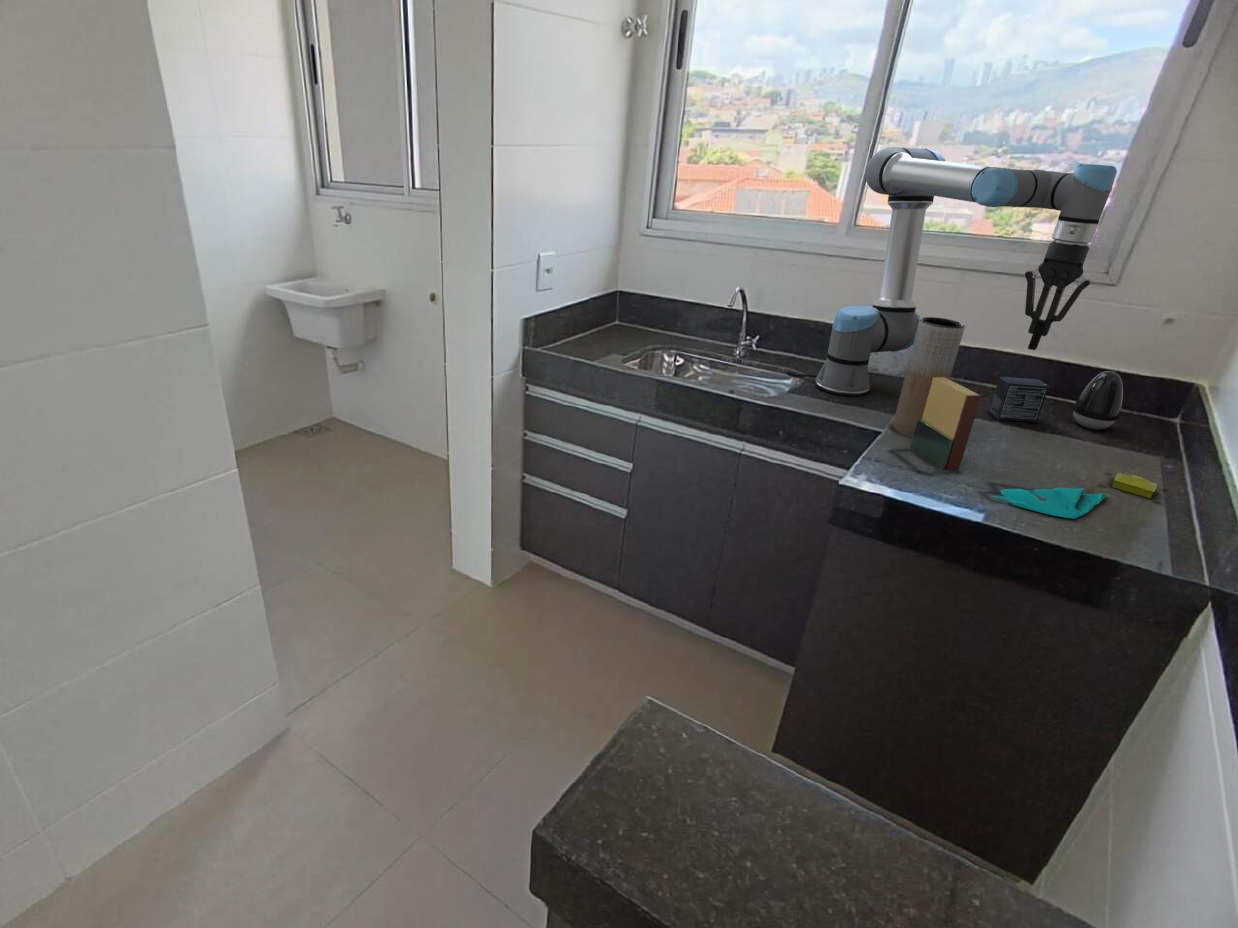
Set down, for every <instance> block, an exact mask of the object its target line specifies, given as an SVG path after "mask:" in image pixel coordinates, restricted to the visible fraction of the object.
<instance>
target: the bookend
mask: <svg viewBox="0 0 1238 928" xmlns="http://www.w3.org/2000/svg"><path fill="white" fill-rule="evenodd" d="M952 443H953V439H951V438H950V437H948V436H947V435H945V434H943V433H942V432H940V431H939V430H937V429H936V428H934V427H932V426H931V425H929V424H928V423H926V422H924V421H923V420H921V419H918V421H917V425H916V429H915V432H914V435H913V437H912V440H911V444H910V448H911V449H912V450H913V451H915V452H916V453H918V454H919V455H921V456H922V458H925V459H926V460H928V461H929V462H930V463H932V464H933V465H934V466H936V467H937V468H939V469H940V470H942V471H945V466H946V463H947V460H948V456H949V453H950V450H951V446H952Z"/></svg>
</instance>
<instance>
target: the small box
mask: <svg viewBox="0 0 1238 928" xmlns="http://www.w3.org/2000/svg"><path fill="white" fill-rule="evenodd" d="M997 380H998V381H997V383H996V387H995V390H994V394H993V397H992V400H991V403H990V407H989V410H988V413H989V414H990V415H992V416H993V417H994V418H995V419H996V420H998V421H1008V422H1009V421H1011V422H1023V423H1024V422H1025V423H1036V424H1037V423H1038V422H1039V418H1040V415H1041V412H1042V409H1043V405H1044V403H1045V399H1046V396H1047V393H1048V390H1049V388H1050V385H1048V384H1047V383H1045V382H1043V380H1040V379H1037V378H1024V377H1023V378H1022V377H1011V376H1010V377H1009V376H999V377H998V379H997Z"/></svg>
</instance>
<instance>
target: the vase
mask: <svg viewBox="0 0 1238 928" xmlns="http://www.w3.org/2000/svg"><path fill="white" fill-rule="evenodd" d="M919 319H920V320H919V324H918V327H917V331H916V335H915V339H914V343H913V345H912V346H911V347H912V348H911V351H910V356H909V360H908V363H907V368H906V371H905V374H904V379H903V383H902V386H901V391H900V394H899V399H898V401H897V407H896V409H895V415H894V419H893V422H892V426H893V428H895V429H896V430H898V431H900V432H902V433H905V434H909V435H913V436H914V432H915V429H916V425H917V421H918V419H921V420H922V417H923V413H924V410H925V406H926V402H927V399H928V395H929V391H930V388H931V384H932V380H933V377H945V378H947V379H949V380H951V377H952V373H953V370H954V366H955V363H956V360H957V356H958V352H959V349H960V346H961V342H962V339H963V334H964V331H965V327H966V325H965V324H964V323H963V322H960V321H958V320H954V319H949V318H944V317H936V316H925V317H920V318H919Z"/></svg>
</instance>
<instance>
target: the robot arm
mask: <svg viewBox="0 0 1238 928" xmlns="http://www.w3.org/2000/svg"><path fill="white" fill-rule="evenodd" d="M1117 173H1118V170H1117V168H1116V166H1114V165H1109V164H1108V165H1106V164H1093V163H1078V164H1077V165H1076V167H1075V168H1074V171H1073V172H1061V171H1053V170H1045V169H1019V168H1008V167H1007V168H1006V167H996V166H988V165H978V164H970V163H961V162H952V161H946V159H945V157H944V156H943V154H942V153H940V152H939V151H936V150H933V149H928V148H924V147H923V148H922V147H921V148H917V147H900V146H890V147H888V146H887V147H885V148H882V149H880V150H878V151H877V152H875V153H874V154H873V156H872V157H870V159H869V160H868V162H867V165H866V167H865V173H864V177H865V182H866V184H867V185H868V188H869V189H871V191H873V192H874V193H876V194H880V195H884V196H885V195H886V196H887V205H888V206H889V207H890V208H891V216H890V223H889V228H888V229H889V231H888V237H887V244H886V251H885V257H884V264H883V269H882V270H883V272H882V278H881V285H880V290H879V291H880V292H879V297H878V299H877V300H875V301H874V302H872V306H868V305H849V306H845V307H842V308H840V309H839V310H837V311H836V313H835V316H834V319H833V322H832V326H831V327H832V328H831V334H830V339H829V344H828V349H827V355H826V359H825V361H824V363H823V364H822V366H821V368H820V369H819V372H818V373H797V372H793V371H790V370H786V372H785V374H787V375H790V376H792V377H793V376H794V377H799V378H815V382H814V385H815V387H816V388H818V389H819V390H820V391H823V392H826V393H829V394H833V395H837V396H844V397H861V396H866V395H867V394H869V392H870V388H871V387H870V385H871V384H870V383H871V382H870V375H869V374H870V373H869V361H870V359H871V354H872V353H873V354H874V353H884V352H885V353H886V352H893V353H896V352H899V351H905V350H907V349H910V348H911V347H913V343H914V339H915V335H916V331H917V327H918V324H919V320H920V319H921V317H920V315H919V314H918V312H917V311H916V308H917V305H916V303H915V302H914V300H913V294H914V293H913V291H914V287H915V286H914V285H915V281H916V273H917V266H918V261H919V255H920V248H921V242H922V236H923V230H924V224H925V218H926V211H927V210H928V208H929V207H931V205H933V203H934V200H935V197H939V198H946V199H952V200H957V201H963V202H969V203H974V204H975V203H976V204H978V205H980V206H983V207H989V208H990V207H991V208H998V207H999V208H1000V207H1001V208H1002V207H1003V208H1007V207H1008V208H1030V209H1031V208H1032V209H1033V208H1035V209H1043V210H1044V209H1046V210H1054V211H1060V212H1059V215H1058V218H1057V221H1056V223H1055V227H1054V229H1053V232H1052V234H1051V238H1052V240H1051V241H1050V242H1049V244H1048V247H1047V249H1046V252H1045V255H1044V257H1043V260H1042V262H1041V263H1040V264H1039V265H1038V267H1037V268H1034V269H1030V270H1027V271H1025V273H1024V277H1025V280H1026V282H1027V283H1026V293H1025V294H1026V295H1025V296H1026V297H1025V308H1024V309H1025V310H1024V314H1025V316H1028V317H1029V318H1031V322H1030V324H1029V327H1028V330H1027V331H1028V334H1032V335H1031V338H1030V341H1029V344H1028V346H1027V350H1032V351H1036V350H1037V349H1038V347H1039V343H1040V342H1041V339H1042V337H1046V336H1047V335H1049V332H1050V330H1051V327H1052V324H1053V323H1055V322H1061V321H1062V320H1063V319H1064V318H1065V317H1066V315H1067V314H1068V313H1069V311H1070V309H1071V308H1072V306H1074V304H1075V302H1076V301H1077V299H1078V298H1079V297H1080V295H1081V293H1082V292H1083V290H1085V289H1086V288H1087V287H1089V286H1090V285H1091V284H1092V280H1091V279H1090V278H1088V277H1086V276H1085V275H1084V264H1085V262H1086V258H1087V256H1088V253H1089V251H1090V247H1089V245H1088V244H1091V243H1092V242H1093V240H1094V237H1095V236H1096V235H1095V234H1096V232H1097V230H1098V227H1099V224H1100V220H1101V217H1102V215H1103V212H1104V209H1105V207H1106V204H1107V202H1108V199H1109V197H1110V194H1111V193H1112V191H1113V186H1114V183H1115V181H1116V176H1117ZM1039 275H1040V278H1041V280H1042V283H1043V286H1042V291H1041V293H1040V296H1039V299H1038V302H1037V305H1036V307H1035V297H1036V295H1035V294H1036V281H1037V280H1036V279H1038V277H1039ZM1077 279H1078V280H1077ZM1076 280H1077V282H1076V286H1077V287H1076V288H1075V289H1074V290H1073V292H1072V293H1071V295H1070V296H1069V298H1068V299H1067V301H1066V302H1065V304H1064V305H1063V307H1062V308H1061V309H1060V310H1059V313H1058V314H1057V311H1058V309H1059V305H1060V302H1061V301H1062V298H1063V295H1064V292H1065V289H1066V287H1068V286H1069V285H1071V284H1072V283H1074V282H1075V281H1076ZM1052 287H1056V288H1055V292H1054V295H1053V298H1052V299H1051V303H1050V307H1049V309H1048V312H1047V315H1046V317H1045V319H1041V317H1042V315H1043V312H1044V309H1045V306H1046V304H1047V301H1048V298H1049V296H1050V292H1051V290H1052ZM1034 307H1035V308H1034ZM1034 309H1035V310H1034Z"/></svg>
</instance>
